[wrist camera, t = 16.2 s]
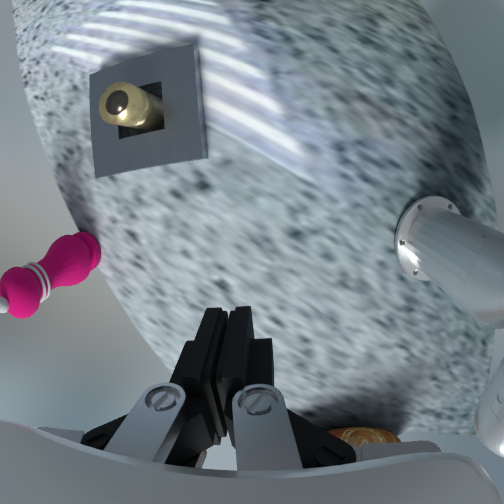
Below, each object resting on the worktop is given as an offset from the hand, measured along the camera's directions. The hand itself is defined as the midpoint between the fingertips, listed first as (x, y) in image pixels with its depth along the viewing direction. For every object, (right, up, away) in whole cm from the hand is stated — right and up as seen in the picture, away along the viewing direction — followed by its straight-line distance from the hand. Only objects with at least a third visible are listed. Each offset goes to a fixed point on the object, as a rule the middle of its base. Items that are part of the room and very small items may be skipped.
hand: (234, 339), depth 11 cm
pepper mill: (-25, +4, +29) cm, 39 cm away
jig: (-13, +22, +22) cm, 34 cm away
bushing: (-13, +22, +22) cm, 34 cm away
